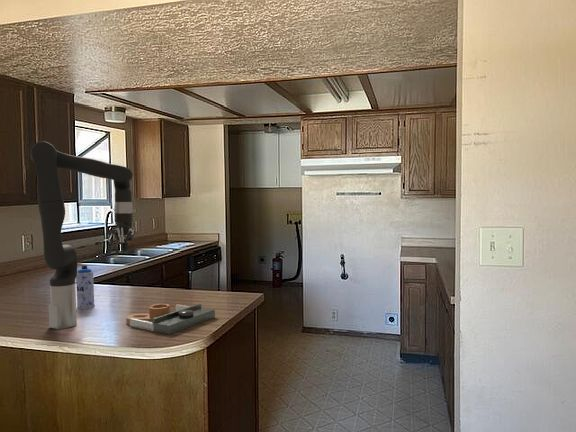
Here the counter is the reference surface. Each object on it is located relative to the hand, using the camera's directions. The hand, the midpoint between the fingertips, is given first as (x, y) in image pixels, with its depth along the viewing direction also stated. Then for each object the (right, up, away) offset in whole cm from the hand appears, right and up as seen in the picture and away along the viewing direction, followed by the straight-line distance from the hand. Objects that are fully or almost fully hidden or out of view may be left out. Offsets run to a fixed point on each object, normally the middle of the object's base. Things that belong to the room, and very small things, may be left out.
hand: (124, 250), depth 193 cm
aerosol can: (-24, -28, +15) cm, 40 cm away
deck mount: (+25, -29, -11) cm, 40 cm away
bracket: (+14, -30, -11) cm, 35 cm away
